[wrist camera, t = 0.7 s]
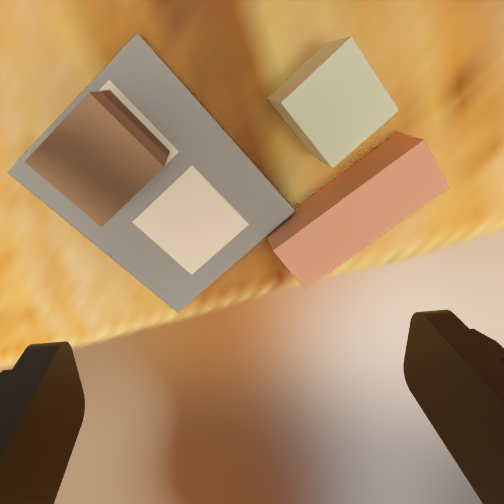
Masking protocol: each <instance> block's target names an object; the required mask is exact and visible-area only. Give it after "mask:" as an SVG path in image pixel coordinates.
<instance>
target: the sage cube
mask: <svg viewBox="0 0 504 504" xmlns="http://www.w3.org/2000/svg"><path fill="white" fill-rule="evenodd" d="M267 100H268V101H269V102H270V103H271V105H272V106H273V107H274V108H275V110H276V111H277V112H278V113H279V115H280V116H281V117H282V118H283V120H284V121H285V122H286V123H287V125H288V126H289V127H290V128H291V130H292V131H293V132H294V133H295V135H296V136H297V137H298V138H299V140H300V141H301V142H302V143H303V144H304V146H305V147H306V148H307V149H308V151H309V152H310V153H311V154H312V155H313V156H315V157H316V158H318V159H319V160H321V161H322V162H324V163H325V164H327V165H328V166H330V167H331V168H334V167H335V166H336V165H337V164H338V163H339V162H341V161H342V160H343V159H344V158H345V157H346V156H348V155H349V154H350V153H351V152H352V151H353V150H354V149H356V148H357V147H358V146H359V145H360V144H361V143H362V142H364V141H365V140H366V139H367V138H368V137H369V136H370V135H372V134H373V133H374V132H375V131H376V130H377V129H378V128H380V127H381V126H382V125H383V124H384V123H385V122H387V121H388V120H389V119H390V118H391V117H392V116H393V115H395V114H396V113H397V112H398V111H399V109H398V107H397V106H396V104H395V102H394V101H393V99H392V98H391V96H390V95H389V93H388V92H387V90H386V89H385V87H384V86H383V84H382V83H381V81H380V80H379V78H378V76H377V75H376V73H375V72H374V70H373V69H372V67H371V66H370V64H369V63H368V61H367V60H366V58H365V57H364V55H363V53H362V52H361V50H360V49H359V47H358V46H357V44H356V43H355V41H354V40H353V38H352V37H348V38H345V39H341V40H337V41H334V42H330V43H326V44H324V45H323V46H322V47H321V48H320V49H319V50H318V51H317V52H316V53H315V54H314V55H313V56H312V57H310V58H309V59H308V60H307V61H306V62H305V63H304V64H303V65H302V66H301V67H300V68H299V69H298V70H297V71H296V72H295V73H294V74H293V75H291V76H290V77H289V78H288V79H287V80H286V81H285V82H284V83H283V84H282V85H281V86H280V87H279V88H278V89H277V90H276V91H275V92H274V93H272V94H271V95H270V96H269V97H268V98H267Z"/></svg>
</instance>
